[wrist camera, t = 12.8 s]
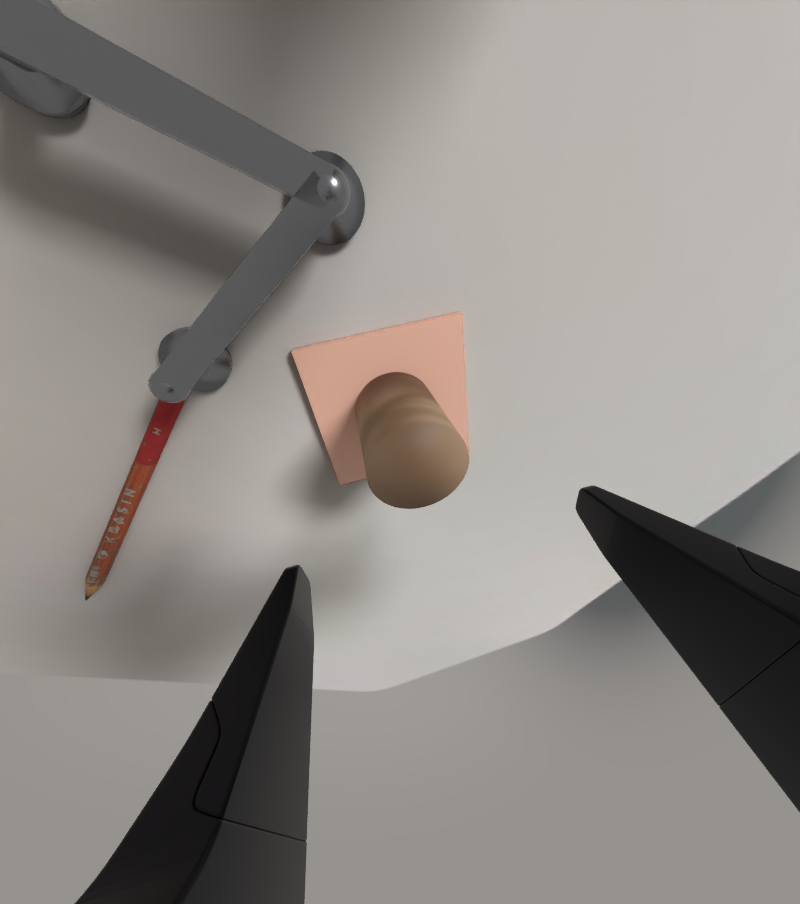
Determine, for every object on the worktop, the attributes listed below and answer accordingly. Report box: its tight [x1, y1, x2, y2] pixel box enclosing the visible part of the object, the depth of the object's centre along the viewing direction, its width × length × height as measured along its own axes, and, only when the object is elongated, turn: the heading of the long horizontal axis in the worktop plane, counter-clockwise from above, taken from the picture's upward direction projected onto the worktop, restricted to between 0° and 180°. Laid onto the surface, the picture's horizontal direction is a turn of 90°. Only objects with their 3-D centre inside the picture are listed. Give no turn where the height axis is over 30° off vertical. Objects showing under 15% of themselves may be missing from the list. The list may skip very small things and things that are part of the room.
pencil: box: [85, 400, 185, 600], centre depth 19 cm, size 19×1×1 cm, turn 144°
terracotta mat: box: [291, 312, 469, 485], centre depth 19 cm, size 9×9×1 cm
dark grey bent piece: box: [0, 0, 365, 403], centre depth 11 cm, size 11×13×4 cm
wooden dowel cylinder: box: [355, 372, 469, 509], centre depth 16 cm, size 5×5×6 cm
